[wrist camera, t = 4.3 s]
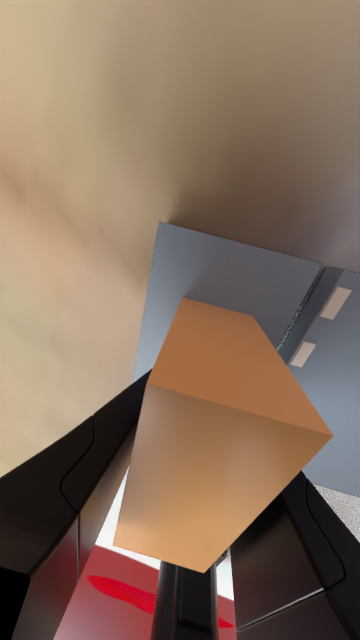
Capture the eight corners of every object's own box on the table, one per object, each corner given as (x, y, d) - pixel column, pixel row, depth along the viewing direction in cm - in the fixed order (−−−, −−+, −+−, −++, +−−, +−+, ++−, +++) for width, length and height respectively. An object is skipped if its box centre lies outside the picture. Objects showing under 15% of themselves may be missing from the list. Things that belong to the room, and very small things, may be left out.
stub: (215, 441, 12) (223, 605, 7) (130, 417, 12) (69, 558, 7) (308, 261, 7) (644, 316, 2) (164, 224, 7) (43, 163, 2)
